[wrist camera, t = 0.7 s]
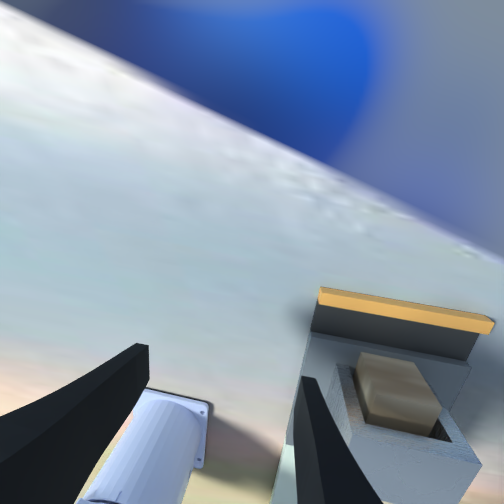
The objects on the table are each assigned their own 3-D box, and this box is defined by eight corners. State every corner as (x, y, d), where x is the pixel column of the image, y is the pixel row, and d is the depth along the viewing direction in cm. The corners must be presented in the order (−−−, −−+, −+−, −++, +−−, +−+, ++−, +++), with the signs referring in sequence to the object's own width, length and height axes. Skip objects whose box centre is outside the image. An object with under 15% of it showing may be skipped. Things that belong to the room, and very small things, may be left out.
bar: (359, 491, 25) (371, 548, 21) (318, 481, 25) (323, 535, 22) (413, 362, 20) (442, 408, 16) (360, 351, 20) (376, 394, 16)
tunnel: (408, 426, 22) (449, 517, 16) (322, 407, 22) (333, 488, 17) (428, 381, 20) (482, 465, 14) (335, 362, 21) (352, 435, 15)
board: (363, 559, 30) (366, 572, 29) (262, 531, 31) (262, 543, 30) (484, 315, 19) (494, 322, 18) (320, 286, 20) (321, 292, 19)
